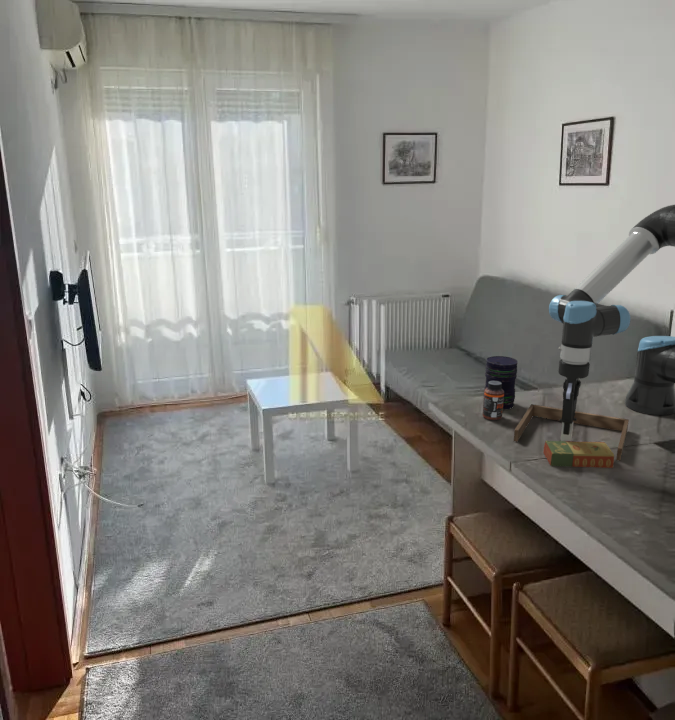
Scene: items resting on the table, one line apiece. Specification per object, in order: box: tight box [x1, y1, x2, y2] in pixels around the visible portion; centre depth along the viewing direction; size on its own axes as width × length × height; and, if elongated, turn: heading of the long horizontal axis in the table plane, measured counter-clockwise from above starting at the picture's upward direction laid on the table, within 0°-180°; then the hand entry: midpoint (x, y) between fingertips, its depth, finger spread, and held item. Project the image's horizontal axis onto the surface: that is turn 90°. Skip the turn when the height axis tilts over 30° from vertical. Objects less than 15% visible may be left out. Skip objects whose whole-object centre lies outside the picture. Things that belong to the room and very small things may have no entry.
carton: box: [542, 440, 615, 469], centre depth 178 cm, size 8×16×4 cm, turn 86°
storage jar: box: [483, 355, 518, 410], centre depth 216 cm, size 10×10×15 cm
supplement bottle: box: [482, 381, 504, 421], centre depth 206 cm, size 6×6×11 cm
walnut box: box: [513, 403, 630, 462], centre depth 193 cm, size 28×23×4 cm
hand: (565, 443), depth 183 cm, fingers closed
